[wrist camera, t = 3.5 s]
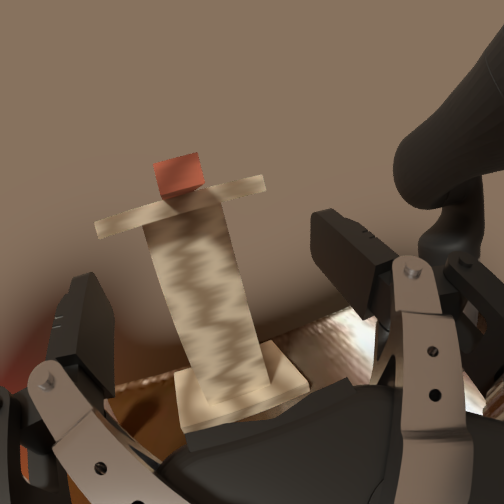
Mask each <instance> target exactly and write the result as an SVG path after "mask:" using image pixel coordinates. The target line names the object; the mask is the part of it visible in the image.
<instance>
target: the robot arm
mask: <svg viewBox="0 0 504 504" xmlns="http://www.w3.org/2000/svg"><path fill="white" fill-rule="evenodd" d="M501 170H504V25H503V26H502V28H501V29H500V31H499V32H498V33H497V35H496V36H495V37H494V39H493V40H492V41H491V43H490V44H489V46H488V47H487V48H486V49H485V51H484V52H483V54H482V56H481V57H480V58H479V60H478V61H477V63H476V64H475V66H474V67H473V68H472V70H471V71H470V72H469V73H468V74H467V75H466V77H465V78H464V79H463V80H462V81H461V82H460V84H459V85H458V86H457V87H456V88H455V90H454V91H453V92H452V93H451V94H450V95H449V97H448V98H447V99H446V100H445V102H444V103H443V104H442V105H441V106H440V107H439V109H438V110H437V111H436V112H435V113H434V114H432V115H431V116H430V117H429V118H428V119H427V120H426V121H424V122H423V123H422V124H421V125H420V126H418V127H417V128H416V129H415V130H414V131H412V132H411V133H410V134H409V135H408V136H406V137H405V138H404V139H403V140H402V142H401V143H400V144H399V146H398V148H397V151H396V153H395V157H394V164H393V176H394V182H395V185H396V188H397V190H398V192H399V193H400V195H401V196H402V198H403V199H404V200H405V201H406V202H407V203H408V204H410V205H412V206H413V207H415V208H418V209H425V210H430V209H436V208H441V207H442V213H441V215H440V217H439V219H438V221H437V222H436V223H435V224H434V225H433V226H432V227H431V228H430V229H429V230H427V231H426V232H425V233H424V234H423V235H422V236H421V237H420V239H419V241H418V254H419V258H418V257H415V256H409V255H406V256H399V255H397V254H396V253H395V252H394V251H393V250H391V249H390V248H389V247H388V246H387V245H385V244H384V243H383V242H382V241H381V240H379V239H378V238H377V237H376V238H375V236H374V235H373V234H372V233H371V232H368V230H367V229H366V228H365V227H363V226H362V225H361V224H359V223H358V222H355V221H353V220H350V219H348V218H344V217H343V216H342V215H340V214H339V213H338V212H336V211H335V210H334V209H332V208H330V209H326V210H322V211H318V212H314V213H312V215H311V234H310V237H311V238H310V239H311V241H310V250H311V255H312V258H313V260H314V262H315V264H316V265H317V266H318V267H319V268H320V270H321V271H322V272H323V273H324V274H325V276H326V277H327V278H328V279H329V280H330V281H331V283H332V284H333V285H334V286H335V287H336V289H337V290H338V291H339V292H340V293H341V294H342V296H343V297H344V298H345V299H346V301H347V302H348V303H349V304H350V305H351V307H352V308H353V309H354V310H355V311H356V313H357V314H358V315H359V316H360V318H361V319H362V320H366V319H368V318H370V317H372V316H375V317H376V318H377V322H376V330H375V349H374V363H373V371H372V376H371V379H370V383H369V385H356V386H352V384H351V383H350V381H349V379H348V378H347V377H346V378H344V379H342V380H340V381H338V382H336V383H334V384H331V385H329V386H327V387H325V388H322V389H320V390H318V391H315V392H313V393H311V394H309V395H308V396H306V397H305V398H304V399H302V400H301V401H300V402H298V403H297V404H295V405H294V406H292V407H291V408H289V409H288V410H287V411H285V412H284V413H282V414H281V415H279V416H278V417H276V418H273V419H269V420H260V421H249V422H236V423H224V424H221V425H217V426H213V427H210V428H206V429H202V430H198V431H193V432H189V433H185V437H186V441H187V444H186V445H184V446H182V447H180V448H179V449H177V450H176V451H174V452H173V453H172V454H170V455H169V456H168V457H167V458H166V459H165V460H164V461H163V462H161V461H160V460H159V459H157V458H156V457H155V456H154V455H152V454H151V453H150V452H149V451H147V450H146V449H145V448H144V447H142V446H141V445H140V444H139V443H138V442H137V441H136V440H135V439H134V438H133V437H132V436H131V435H130V434H129V433H128V432H127V431H126V430H125V429H124V428H123V427H122V426H121V425H120V424H119V423H118V422H117V421H116V420H115V419H114V418H113V417H112V416H111V415H110V414H109V413H108V411H107V410H105V409H104V399H108V398H114V397H115V384H114V325H115V318H114V313H113V309H112V307H111V304H110V302H109V300H108V299H107V297H106V295H105V293H104V291H103V289H102V287H101V285H100V283H99V281H98V279H97V277H96V276H95V274H94V273H93V272H89V273H86V274H83V275H80V276H76V277H74V278H73V279H72V282H71V285H70V289H69V292H68V294H65V295H64V297H63V298H62V300H61V301H60V303H59V304H58V306H57V309H56V313H55V319H54V321H53V326H52V327H53V329H52V330H51V335H50V339H49V344H48V350H47V355H46V360H45V361H44V362H42V363H40V364H39V365H38V366H36V368H35V369H34V370H33V371H32V373H31V374H30V377H29V380H28V387H26V388H25V389H23V390H21V391H19V392H17V393H15V394H13V395H12V394H11V393H10V392H9V391H8V390H7V389H5V388H4V387H1V386H0V504H72V503H71V497H70V492H69V486H68V479H67V473H68V474H69V476H70V477H71V478H72V480H73V481H74V482H75V484H76V485H77V486H78V487H79V489H80V490H81V491H82V492H83V494H84V495H85V496H86V497H87V499H88V500H89V501H90V502H91V503H92V504H504V284H503V283H502V282H501V281H500V280H499V279H498V278H497V277H496V276H495V275H494V274H493V273H492V272H491V271H490V270H488V269H487V268H486V267H485V266H484V265H483V264H482V263H481V262H480V246H481V242H482V239H483V236H484V228H485V222H484V221H485V220H484V195H483V183H482V175H484V174H488V173H493V172H497V171H501ZM478 312H480V313H481V314H482V315H483V317H484V318H485V319H486V322H487V330H486V332H485V334H484V335H483V334H482V333H481V332H480V331H479V329H478V328H477V321H478ZM463 371H465V372H466V373H467V375H468V376H469V377H470V379H471V380H472V381H473V383H474V384H475V386H476V387H477V388H478V390H479V391H480V393H481V394H482V396H483V397H484V398H485V400H486V406H485V407H484V408H483V416H482V415H478V414H474V413H471V412H467V411H465V393H464V381H463ZM20 445H22V446H24V447H25V448H27V451H28V469H29V482H30V484H29V483H28V482H27V481H26V480H25V479H24V477H23V475H22V473H21V464H20ZM66 471H67V472H66Z"/></svg>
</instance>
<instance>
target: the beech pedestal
mask: <svg viewBox="0 0 504 504" xmlns="http://www.w3.org/2000/svg"><path fill="white" fill-rule="evenodd" d="M263 191H266V187H265V183H264V179H263V175H257V176H253V177H249V178H245V179H240V180H236V181H232V182H228V183H224V184H220V185H216V186H212V187H208V188H204V189H200V190H197V191H193V192H189V193H186V194H182V195H179V196H175V197H172V198H168V199H165V200H161V201H158V202H155V203H152V204H148V205H145V206H142V207H138V208H135V209H132V210H129V211H126V212H123V213H120V214H117V215H114V216H111V217H108V218H105V219H102V220H99V221H96V222H94V224H95V228H96V232H97V235H98V238H99V239H102V238H105V237H108V236H111V235H114V234H117V233H120V232H123V231H126V230H129V229H132V228H135V227H138V226H142V227H143V230H144V234H145V237H146V241H147V244H148V247H149V251H150V254H151V257H152V260H153V263H154V267H155V270H156V273H157V276H158V279H159V282H160V285H161V288H162V291H163V294H164V297H165V299H166V302H167V305H168V308H169V311H170V313H171V316H172V318H173V321H174V324H175V327H176V329H177V332H178V334H179V337H180V339H181V342H182V345H183V347H184V349H185V352H186V354H187V357H188V359H189V362H190V364H191V366H192V368H188V369H185V370H182V371H179V372H175V373H174V379H175V388H176V396H177V404H178V411H179V418H180V425H181V429H182V431H183V432H184V434H185V433H189V432H193V431H198V430H202V429H206V428H210V427H213V426H217V425H221V424H224V423H232V422H235V421H237V420H240V419H243V418H246V417H249V416H251V415H254V414H257V413H260V412H262V411H265V410H267V409H270V408H272V407H275V406H277V405H280V404H282V403H284V402H287V401H289V400H291V399H294V398H296V397H298V396H300V395H303V394H305V393H307V392H309V391H310V389H309V384H308V381H307V380H306V379H305V378H304V377H303V376H302V374H301V373H300V372H299V371H298V370H297V369H296V368H295V367H294V365H293V364H292V363H291V362H290V361H289V360H288V359H287V357H286V356H285V355H284V354H283V353H282V352H281V350H280V349H279V348H278V347H277V346H276V345H275V344H274V342H273V341H272V340H269V341H267V342H264V343H262V344H259V342H258V339H257V335H256V332H255V328H254V324H253V321H252V317H251V314H250V310H249V306H248V303H247V299H246V295H245V292H244V288H243V285H242V281H241V277H240V273H239V269H238V266H237V262H236V258H235V254H234V251H233V247H232V244H231V240H230V236H229V232H228V228H227V224H226V220H225V217H224V213H223V209H222V205H221V202H225V201H228V200H232V199H236V198H240V197H244V196H248V195H252V194H256V193H259V192H263Z"/></svg>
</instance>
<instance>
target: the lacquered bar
mask: <svg viewBox="0 0 504 504" xmlns="http://www.w3.org/2000/svg"><path fill="white" fill-rule="evenodd" d="M153 166H154V171H155V175H156V179H157V183H158V187H159V191H160V195H161V197H162V200H165V199H168V198H172V197H175V196H179V195H182V194H186V193H189V192H193V191H194V190H196V189H197V188H199V187H200V186H202V185H203V184H204V183H205V181H204V177H203V173H202V169H201V165H200V161H199V157H198V153H197V152H196V153H192V154H188V155H185V156H180V157H176V158H173V159H169V160H166V161H162V162H158V163H154V164H153Z"/></svg>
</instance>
